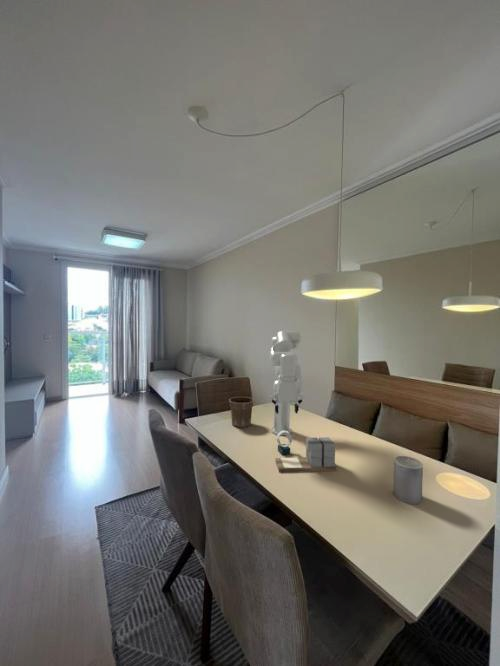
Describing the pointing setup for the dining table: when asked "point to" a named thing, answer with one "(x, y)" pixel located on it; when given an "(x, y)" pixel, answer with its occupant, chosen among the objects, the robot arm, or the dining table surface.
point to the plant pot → (241, 411)
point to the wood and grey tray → (311, 457)
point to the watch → (284, 448)
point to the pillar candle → (408, 479)
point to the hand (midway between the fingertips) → (286, 412)
